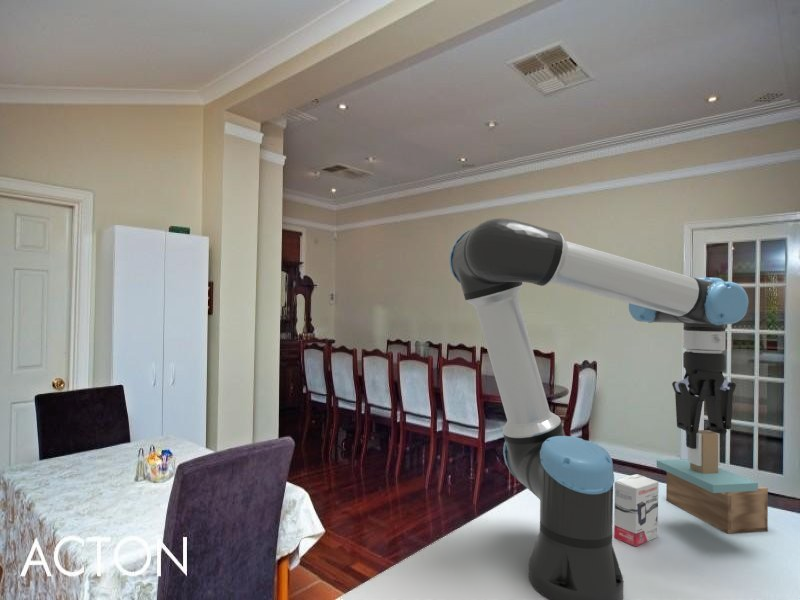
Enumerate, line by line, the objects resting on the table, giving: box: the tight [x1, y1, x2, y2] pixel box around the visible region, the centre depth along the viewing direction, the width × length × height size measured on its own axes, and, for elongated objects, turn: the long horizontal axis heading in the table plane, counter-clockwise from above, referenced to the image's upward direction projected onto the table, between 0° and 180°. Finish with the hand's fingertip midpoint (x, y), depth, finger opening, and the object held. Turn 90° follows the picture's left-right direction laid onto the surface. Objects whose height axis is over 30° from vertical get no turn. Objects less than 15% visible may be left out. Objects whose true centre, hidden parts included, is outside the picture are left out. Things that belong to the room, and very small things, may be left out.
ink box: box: [613, 473, 659, 547], centre depth 99 cm, size 8×5×12 cm, turn 123°
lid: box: [656, 429, 759, 493], centre depth 99 cm, size 10×15×10 cm, turn 10°
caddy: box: [665, 472, 769, 535], centre depth 111 cm, size 10×18×9 cm, turn 10°
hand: (703, 463), depth 99 cm, fingers closed on lid, 3 cm apart
